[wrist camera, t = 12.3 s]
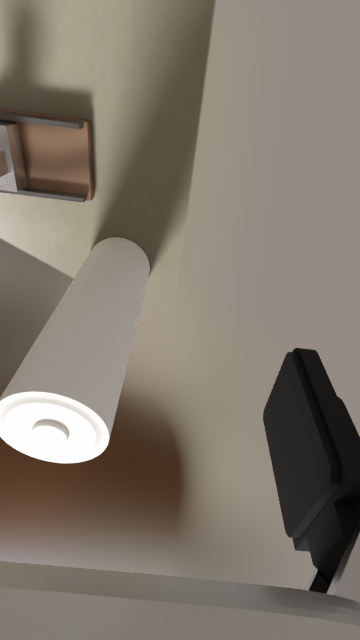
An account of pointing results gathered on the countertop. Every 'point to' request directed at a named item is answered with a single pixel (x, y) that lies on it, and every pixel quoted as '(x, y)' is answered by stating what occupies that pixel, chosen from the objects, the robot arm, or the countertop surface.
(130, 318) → the cylinder container
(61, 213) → the countertop surface
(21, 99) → the countertop surface
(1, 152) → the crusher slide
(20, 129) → the nutcracker board
